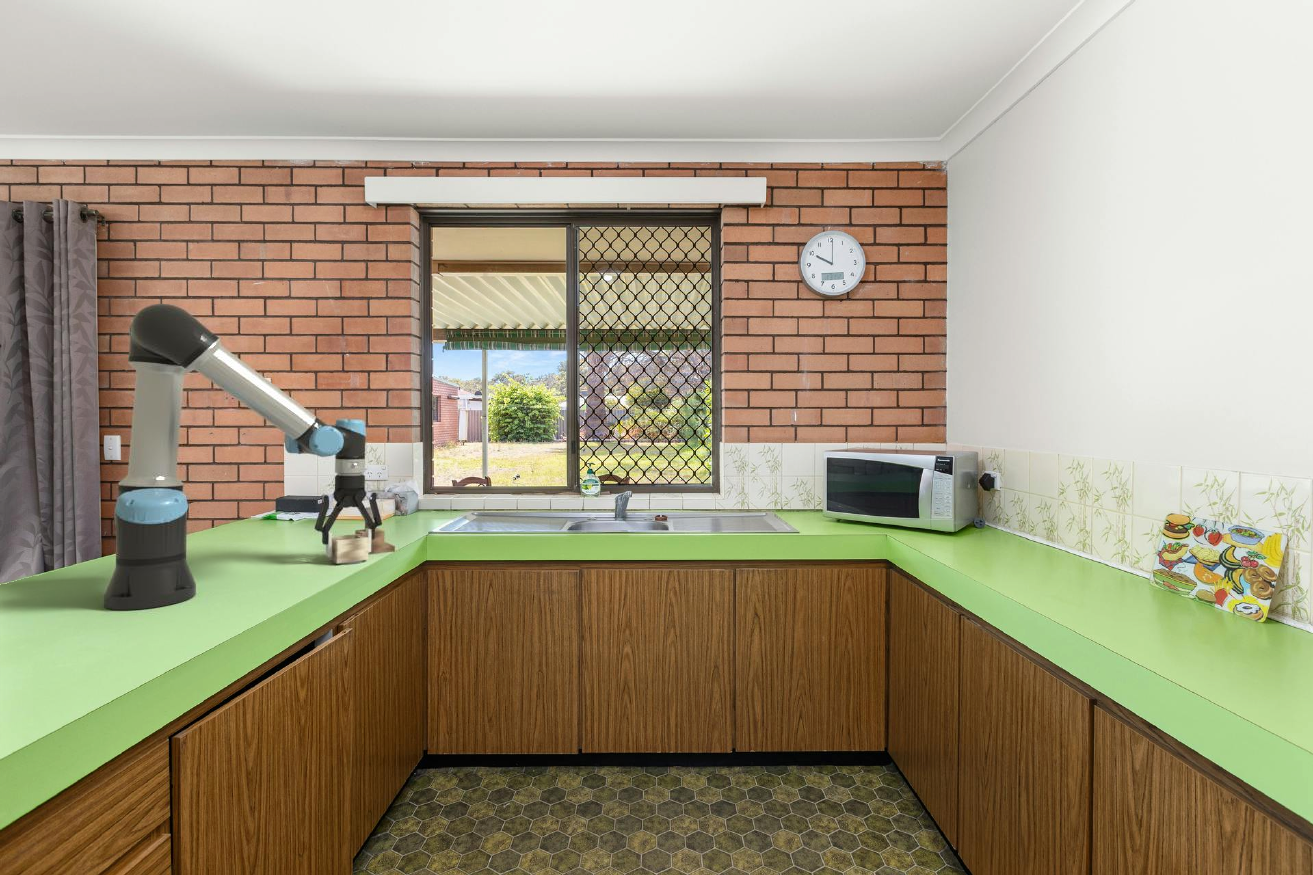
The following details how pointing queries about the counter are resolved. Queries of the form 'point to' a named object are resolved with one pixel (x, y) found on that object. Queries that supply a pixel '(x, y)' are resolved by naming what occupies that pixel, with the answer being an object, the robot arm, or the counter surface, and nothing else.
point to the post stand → (376, 538)
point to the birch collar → (349, 548)
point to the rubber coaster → (347, 562)
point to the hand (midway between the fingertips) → (348, 553)
